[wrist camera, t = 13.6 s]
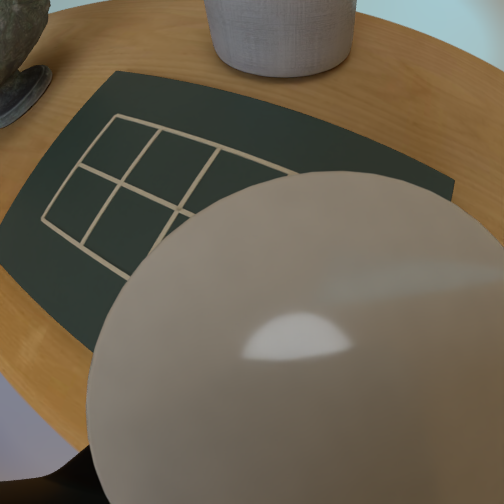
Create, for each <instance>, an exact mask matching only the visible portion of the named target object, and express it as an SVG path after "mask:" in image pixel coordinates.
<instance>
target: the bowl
mask: <svg viewBox="0 0 504 504" xmlns="http://www.w3.org/2000/svg"><path fill="white" fill-rule="evenodd" d="M50 6H51V5H50V0H0V128H2V127H5V126H7V125H9V124H11V123H12V122H14V121H15V120H16V119H18V118H19V117H20V116H22V115H23V114H24V113H25V112H26V111H27V110H28V109H29V108H30V107H31V106H32V105H33V104H34V103H35V102H36V101H37V100H38V99H39V97H40V96H41V95H42V94H43V92H44V91H45V89H46V88H47V86H48V85H49V83H50V81H51V79H52V71H51V70H50V69H49V68H48V66H45V65H36V66H33V67H30V68H28V69H26V70H24V71H22V72H19V71H18V68H19V67H20V66H21V65H22V63H23V62H24V60H25V59H26V58H27V56H28V54H29V53H30V52H31V50H32V49H33V47H34V46H35V45H36V43H37V42H38V40H39V38H40V36H41V34H42V32H43V30H44V28H45V27H46V25H47V22H48V11H49V7H50Z"/></svg>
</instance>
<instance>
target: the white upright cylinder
mask: <svg viewBox="0 0 504 504" xmlns="http://www.w3.org/2000/svg"><path fill="white" fill-rule="evenodd" d="M86 418H87V432H88V440H89V445H90V450H91V454H92V459H93V463H94V467H95V469H96V472H97V475H98V478H99V480H100V483H101V485H102V488H103V490H104V493H105V495H106V497H107V499H108V500H109V502H110V504H504V247H503V246H502V245H501V244H500V243H499V241H498V240H497V239H496V238H495V237H494V236H493V235H492V234H491V233H490V232H489V231H488V230H487V229H486V228H485V227H484V226H483V225H482V224H481V223H479V222H478V221H477V220H476V219H475V218H473V217H472V216H471V215H469V214H468V213H467V212H465V211H464V210H462V209H461V208H460V207H458V206H457V205H455V204H454V203H452V202H450V201H448V200H446V199H445V198H443V197H441V196H439V195H437V194H435V193H433V192H431V191H429V190H427V189H424V188H422V187H419V186H416V185H414V184H411V183H408V182H406V181H403V180H399V179H395V178H390V177H386V176H382V175H377V174H371V173H361V172H351V171H324V172H309V173H303V174H296V175H290V176H284V177H280V178H276V179H273V180H269V181H266V182H263V183H259V184H256V185H253V186H250V187H247V188H245V189H243V190H240V191H238V192H236V193H234V194H231V195H229V196H227V197H225V198H222V199H220V200H218V201H217V202H215V203H213V204H212V205H210V206H208V207H207V208H205V209H203V210H202V211H200V212H198V213H197V214H195V215H193V216H192V217H190V218H189V219H188V220H187V221H185V222H184V223H183V224H181V225H180V226H179V227H178V228H176V229H175V230H174V231H173V232H171V233H170V234H169V235H168V236H166V237H165V238H164V239H163V240H162V241H161V242H160V243H159V244H158V245H157V246H156V247H155V248H154V249H153V250H152V251H151V252H150V254H149V255H148V256H147V257H146V258H145V259H144V260H143V261H142V262H141V263H140V265H139V266H138V267H137V269H136V270H135V271H134V273H133V274H132V275H131V277H130V278H129V279H128V281H127V282H126V283H125V285H124V286H123V288H122V289H121V291H120V293H119V295H118V296H117V298H116V300H115V302H114V304H113V305H112V307H111V309H110V311H109V313H108V315H107V317H106V319H105V322H104V324H103V327H102V329H101V332H100V335H99V337H98V340H97V343H96V345H95V349H94V353H93V358H92V362H91V366H90V371H89V376H88V385H87V398H86Z"/></svg>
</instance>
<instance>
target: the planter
mask: <svg viewBox="0 0 504 504" xmlns="http://www.w3.org/2000/svg"><path fill="white" fill-rule="evenodd" d="M356 1H357V0H204V3H205V8H206V13H207V18H208V23H209V28H210V32H211V37H212V41H213V46H214V48H215V50H216V53H217V55H218V56H219V57H220V59H221V60H222V61H224V62H225V63H226V64H228V65H229V66H231V67H233V68H235V69H238V70H240V71H243V72H247V73H251V74H255V75H260V76H266V77H282V78H289V77H300V76H308V75H313V74H317V73H320V72H323V71H326V70H329V69H331V68H333V67H335V66H337V65H339V64H340V63H341V62H343V61H344V60H345V59H346V57H347V56H348V54H349V52H350V49H351V46H352V40H353V32H354V23H355V12H356Z"/></svg>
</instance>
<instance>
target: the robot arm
mask: <svg viewBox="0 0 504 504" xmlns="http://www.w3.org/2000/svg"><path fill="white" fill-rule="evenodd" d="M0 504H110V502H109V500H108V499H107V497H106V495H105V493H104V490H103V488H102V485H101V483H100V480H99V478H98V475H97V472H96V469H95V467H94V463H93V459H92V454H91V450H90V445H88V446H87V447H86V448H85V449H83V450H82V451H81V452H80V453H78V454H77V455H76V456H75V457H74V458H72V459H71V460H70V461H69V462H68V463H67V464H65V465H64V466H63V467H61V468H60V469H58V470H57V471H55V472H53V473H51V474H49V475H46V476H43V477H38V478H31V479H22V480H13V481H2V482H0Z"/></svg>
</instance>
